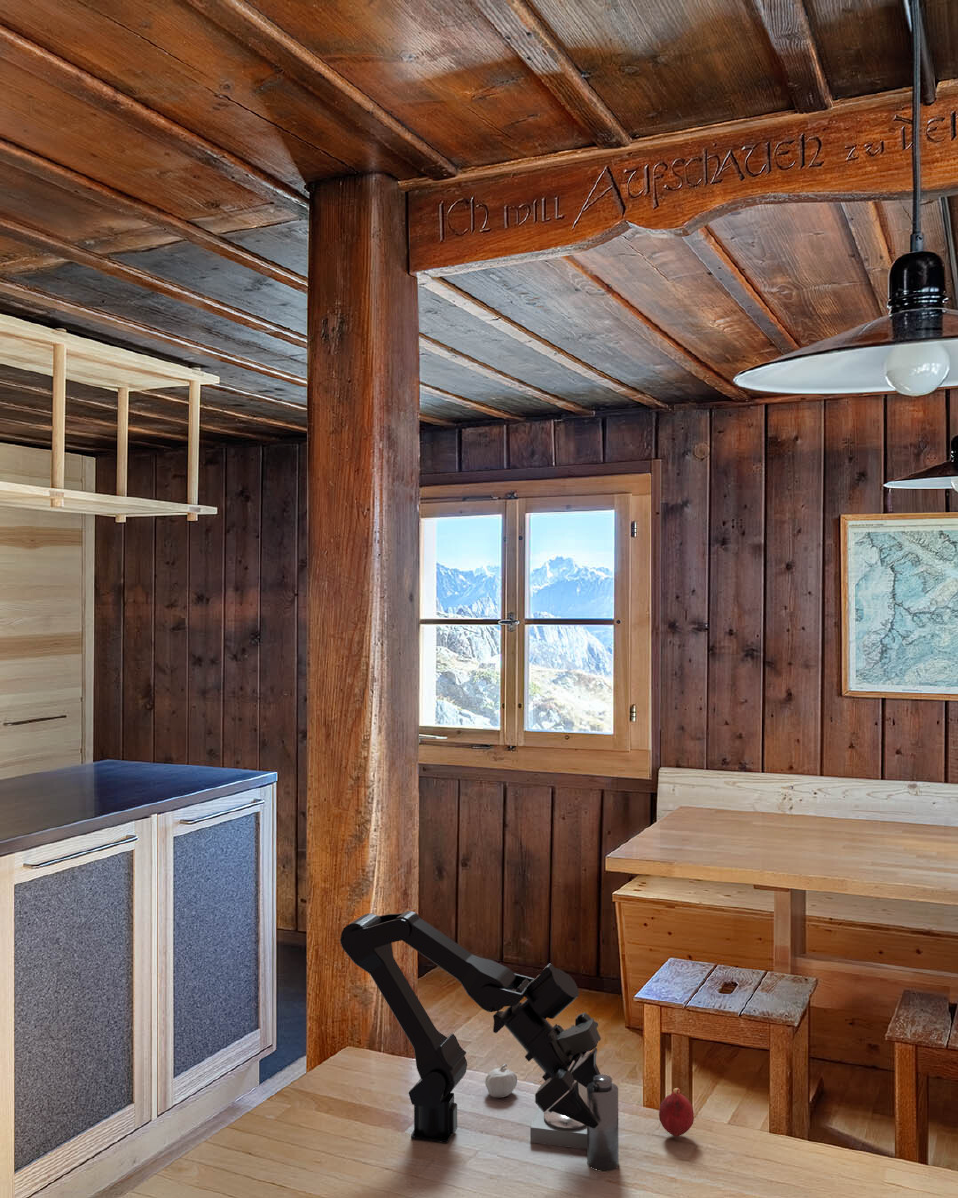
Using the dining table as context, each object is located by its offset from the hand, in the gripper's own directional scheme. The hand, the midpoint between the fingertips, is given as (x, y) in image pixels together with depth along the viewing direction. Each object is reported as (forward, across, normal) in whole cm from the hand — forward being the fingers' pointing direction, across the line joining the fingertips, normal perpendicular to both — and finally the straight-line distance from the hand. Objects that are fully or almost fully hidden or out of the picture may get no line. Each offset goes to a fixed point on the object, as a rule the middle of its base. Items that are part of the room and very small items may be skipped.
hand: (603, 1113), depth 169 cm
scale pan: (-2, +7, +9) cm, 12 cm away
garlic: (-10, +17, +22) cm, 30 cm away
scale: (0, +8, +11) cm, 14 cm away
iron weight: (+6, 0, +6) cm, 8 cm away
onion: (+13, +12, -1) cm, 18 cm away
